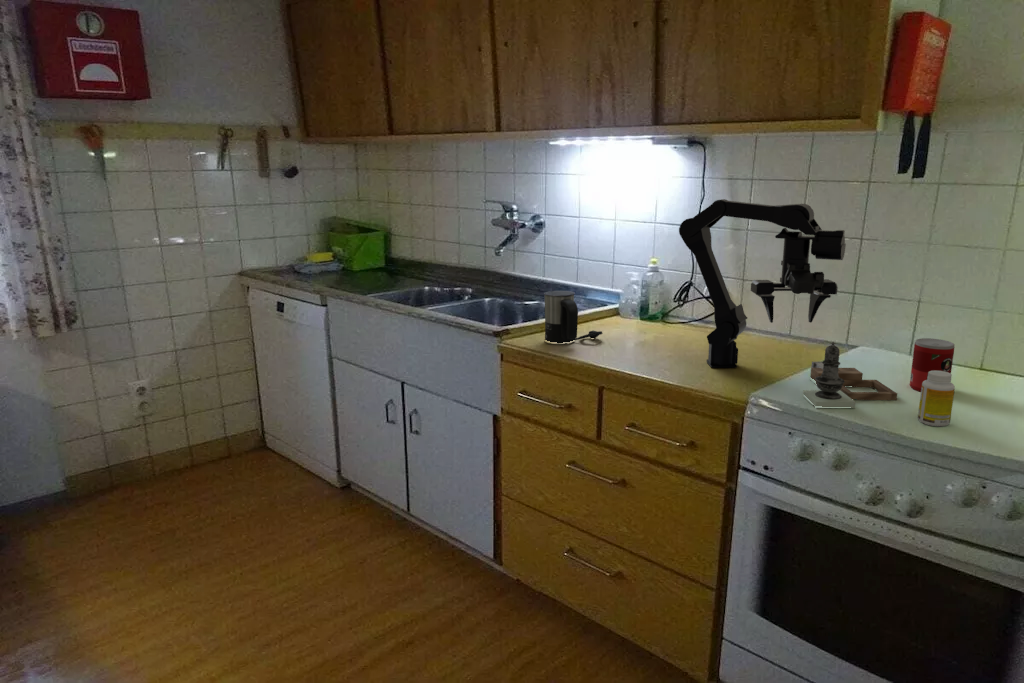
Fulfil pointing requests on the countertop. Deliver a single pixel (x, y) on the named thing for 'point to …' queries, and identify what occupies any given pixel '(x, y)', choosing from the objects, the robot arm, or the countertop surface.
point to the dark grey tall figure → (830, 375)
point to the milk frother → (562, 317)
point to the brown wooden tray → (859, 385)
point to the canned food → (930, 359)
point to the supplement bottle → (936, 399)
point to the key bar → (817, 365)
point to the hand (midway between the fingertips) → (790, 322)
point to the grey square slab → (829, 400)
